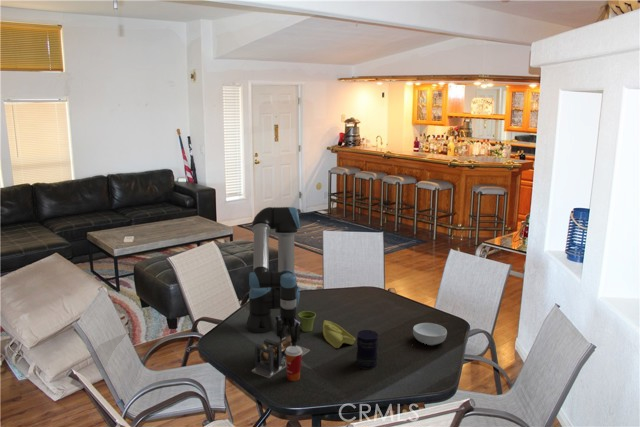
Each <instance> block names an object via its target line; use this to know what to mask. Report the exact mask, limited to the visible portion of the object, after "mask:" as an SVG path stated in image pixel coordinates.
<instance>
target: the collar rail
mask: <svg viewBox="0 0 640 427" xmlns="http://www.w3.org/2000/svg"><path fill="white" fill-rule="evenodd" d="M269 346H271V347H272V346H274V347H277V355H276V356H274V357H273V349H272V348H270V347H269ZM296 346H298V347H300V348H301V349H302V356H301V358H302V357H303V356H305V355H306V354H307V353H309V352H310V351H311V349H309V348H306V347H303V346H302V345H301V346H300V345H297V344H296ZM254 351H255V352H254V354H255V355H254V356H255V366H254V368H253V369H251V373H253V374H257V375H258V376H262V377H264V378H267V379H270V378H271V377H273V376H275V375H277V374H278V373H279V372H281V371H282V370H284V369H286V368H287V367H286V354H285V351H286V349H285V350H284V351H282V344H280V343H278V342H276V341H274V340H271V339H268V338H266V339H264V340H263V344H260V343H256V344H255V346H254ZM261 351H262V352H263V351H266V352H268V361H264V360H262V359H261Z"/></svg>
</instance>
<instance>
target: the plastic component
mask: <svg viewBox="0 0 640 427" xmlns="http://www.w3.org/2000/svg"><path fill="white" fill-rule="evenodd" d="M322 334H323V337H324V340H325V341H326V342H327V343H328V344H330V346H332V347H333V348H334V349H339V348H340V347H341V346H342V345H343V344H348V345H354V344H355V342H356V341H357V339H356V338H355V337H354V336H353V335H351V333H349V332H348V331H346V330H345V329H344V328H343V327H342V326H340V325H338V324H337V323H334V322H333V321H330V320H326V319H324V320H323V323H322Z"/></svg>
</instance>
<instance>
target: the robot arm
mask: <svg viewBox="0 0 640 427" xmlns="http://www.w3.org/2000/svg"><path fill="white" fill-rule="evenodd" d="M299 217H300V216H299V211H298V208H296V207H293V206H292V207H291V206H290V207H289V206H283V207H282V206H276V207H275V206H274V207H273V206H271V207H270V206H269V207H265V208H263V209H261V210H260V211H259V212H258V213H257V214H256V215H255V217H254V219H253V220H252V223H251V232H252V234H253V264H252V266H253V269H252V272H251V271H250V272H249V274H248V282H249V283H248V284H249V288H250V289H249V294H248V298H249V304H248V305H249V307H248V308H249V314H248V317H247V321H246V325H245V327H246V330H247V331H249V332H251V333H253V334H254V333H256V334H263V333H269V332H271V331H273V330H274V329H275V325H276V337H279V339H280V341H282V340H283V339H285V338H287V336H286V333H287V328H288V329H289V334H290V335H289V336H291V342H290V346H296V345H297V342H299V341H300V340H301V321H300V320H299V321H298V320H297V308H298V306H299V303H300V302H299V301H300V297H301V296H300V295H301V294H300V293H301V287H300V286H298V283H297V281H298V280H297V275H296V274H295V236H296V235H297V234H298V230H300V229H301V225H300V224H301V223H300V218H299ZM271 230H275V231H274V232H275V234H276V235H277V237H278V238H277V243H278V244H277V246H278V247H277V252H278V253H277V254H278V255H277V259H278V261H277V265H278V266H277V270H278V271H270V264H269V263H270V260H269V259H270V258H269V257H270V256H269V255H270V254H269V253H270V252H269V251H270V250H269V249H270V247H269V242H270V240H269V237H270V236H269V235H270V232H271ZM272 310H279V313H280V314H279V315H277V316H275V320H274V318H273V315H272ZM275 321H276V324H275ZM280 341H279V342H280Z"/></svg>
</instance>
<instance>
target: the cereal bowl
mask: <svg viewBox="0 0 640 427" xmlns="http://www.w3.org/2000/svg"><path fill="white" fill-rule="evenodd" d="M412 333H413V336H414V338H415V339H416V340H417V341H418V342H420V343H422V344H423V343H424V345H426V344H427V346H435V345H439V344H441V343H443V342H444V341H445V340H446V338H447V335H448V331H447V329H446V327H444V326H442V325H440V324H439V323H438V324H437V323H432V322H421V323H418V324H415V325H414V326H413V328H412Z"/></svg>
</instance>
